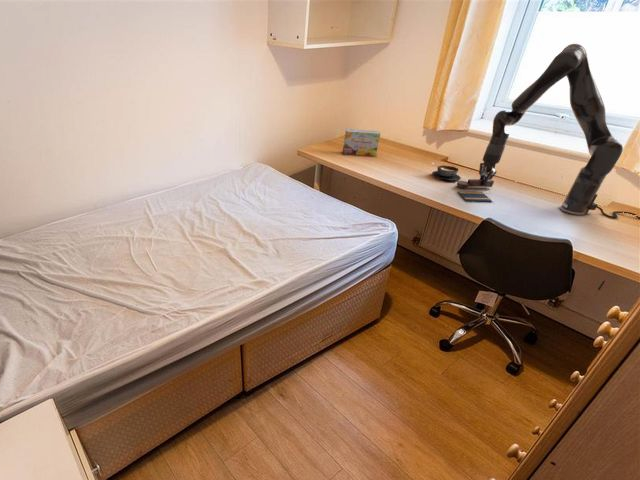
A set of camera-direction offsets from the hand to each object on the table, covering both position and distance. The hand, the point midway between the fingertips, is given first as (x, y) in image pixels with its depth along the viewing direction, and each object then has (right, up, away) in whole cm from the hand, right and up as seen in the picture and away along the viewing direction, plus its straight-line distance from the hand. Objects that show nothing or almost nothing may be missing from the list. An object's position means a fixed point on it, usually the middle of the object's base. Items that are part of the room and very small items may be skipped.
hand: (481, 184), depth 199 cm
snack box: (-50, +30, +48) cm, 76 cm away
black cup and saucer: (-12, +7, +14) cm, 20 cm away
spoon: (-4, 0, +1) cm, 4 cm away
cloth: (-9, -8, -9) cm, 15 cm away
